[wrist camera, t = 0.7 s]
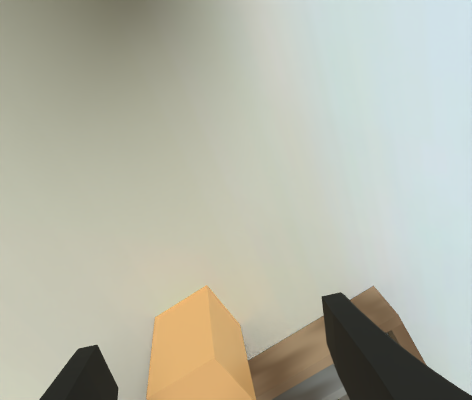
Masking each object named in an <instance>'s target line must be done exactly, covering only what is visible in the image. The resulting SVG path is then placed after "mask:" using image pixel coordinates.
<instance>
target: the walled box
mask: <svg viewBox="0 0 472 400" xmlns="http://www.w3.org/2000/svg"><path fill="white" fill-rule="evenodd" d="M350 301H351V302H352V303H353V304H354V305H355V306H356V307H357V308H358V309H359V310H360V311H361V312H362V313H364V314H365V315H366V316H367V317H368V318H369V319H370V320H371V321H372V322H373V323H375V324H376V325H377V326H378V327H379V328H380V329H381V330H383V331H384V332H385V333H387V332H388V334H389V336H390V337H391V338H392V339H393V340H394V341H396V342H397V343H398V344H399V345H401V346H402V347H403V348H404V349H406V350H407V351H408V352H409V353H411V354H412V355H413V356H415V357H416V358H417V359H419V360H420V361H421V362H422V363H424V364H425V362H424V360H423V358H422V357H421V355H420V353H419V351H418V349H417V348H416V346H415V344H414V342H413V340H412V339H411V337H410V335H409V333H408V332H407V330H406V328H405V326H404V324H403V323H402V321H401V319H400V317H399V315H398V314H397V313H396V312H395V310H394V309H393V308H392V307H391V306H390V305H389V303H388V302H387V301H386V300H385V299H384V298H383V296H382V295H381V294H380V293H379V292H378V290H377V289H376V288H375V287H374V286H373V287H371V288H369V289H368V290H366V291H364V292H363V293H361V294H359V295H358V296H356V297H354V298H353V299H351V300H350ZM248 364H249V369H250V373H251V378H252V383H253V387H254V392H255V397H256V400H337V399H340V400H350V399H349V397H348V395H347V393H346V391H345V389H344V387H343V385H342V382H341V380H340V378H339V376H338V374H337V371H336V368H335V366H334V364H333V360H332V357H331V354H330V352H329V349H328V346H327V343H326V333H325V323H324V316H322V317H321V318H319V319H317V320H316V321H314V322H312V323H311V324H309V325H307V326H306V327H304V328H302V329H301V330H299V331H297V332H296V333H294V334H292V335H291V336H289V337H287V338H286V339H284V340H282V341H281V342H279V343H277V344H276V345H274V346H272V347H271V348H269V349H267V350H266V351H264V352H262V353H260V354H259V355H257V356H255V357H254V358H252V359H250V360H249V361H248ZM425 365H426V364H425Z"/></svg>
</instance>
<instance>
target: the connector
mask: <svg viewBox="0 0 472 400" xmlns="http://www.w3.org/2000/svg"><path fill="white" fill-rule="evenodd" d="M146 399H147V400H256V397H255V392H254V387H253V383H252V378H251V373H250V369H249V364H248V360H247V355H246V350H245V346H244V341H243V336H242V332H241V327H240V324H239V323H238V322H237V321H236V320H235V318H234V317H233V316H232V315H231V314H230V312H229V311H228V310H227V309H226V308H225V306H224V305H223V304H222V303H221V302H220V300H219V299H218V298H217V297H216V296H215V294H214V293H213V292H212V291H211V290H210V288H209V287H208V286H207V285H206V286H205V287H203V288H201V289H200V290H198V291H197V292H195V293H193V294H192V295H190V296H189V297H187V298H185V299H184V300H182V301H181V302H179V303H177V304H176V305H174V306H173V307H171V308H169V309H168V310H166V311H165V312H163V313H161V314H160V315H158V316H157V317H155V323H154V332H153V341H152V350H151V360H150V369H149V378H148V387H147V396H146Z"/></svg>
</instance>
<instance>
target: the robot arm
mask: <svg viewBox="0 0 472 400" xmlns="http://www.w3.org/2000/svg"><path fill="white" fill-rule="evenodd" d="M322 303H323V313H324V323H325V333H326V343H327V346H328V349H329V352H330V354H331V357H332V360H333V363H334V366H335V368H336V371H337V374H338V376H339V378H340V380H341V382H342V385H343V387H344V389H345V391H346V393H347V395H348V397H349V399H350V400H472V396H471V395H469V394H468V393H466V392H465V391H463V390H462V389H460V388H458V387H457V386H455V385H454V384H452V383H451V382H449V381H448V380H446V379H445V378H444V377H442V376H441V375H439V374H438V373H436V372H435V371H433V370H432V369H431V368H429V367H428V366H427V365H425V364H424V363H422V362H421V361H420V360H419V359H417V358H416V357H415V356H413V355H412V354H411V353H409V352H408V351H407V350H406V349H404V348H403V347H402V346H401V345H399V344H398V343H397V342H396V341H394V340H393V339H392V338H391V337H390V336H389V335H387V334H386V333H385V332H384V331H383V330H381V329H380V328H379V327H378V326H377V325H376V324H375V323H373V322H372V321H371V320H370V319H369V318H368V317H367V316H366V315H365V314H364V313H362V312H361V311H360V310H359V309H358V308H357V307H356V306H355V305H354V304H353V303H352V302H351V301H350V300H349V299H348V298H347V297H346V296H345V295H344V294H342V293H336V294H331V295H327V296H322ZM117 398H118V386H117V384H116V382H115V380H114V378H113V376H112V374H111V372H110V370H109V368H108V366H107V364H106V362H105V360H104V357H103V355H102V353H101V351H100V349H99V347H98V345H93V346H89V347H84V348H79V349H78V350H77V351H76V352H75V353H74V355H73V356H72V357H71V359H70V360H69V361H68V363H67V364H66V365H65V367H64V368H63V369H62V371H61V372H60V373H59V375H58V376H57V377H56V379H55V380H54V381H53V383H52V384H51V385H50V387H49V388H48V389H47V390H46V392H45V393H44V394H43V396H42V397H41V398H40V400H117Z"/></svg>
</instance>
